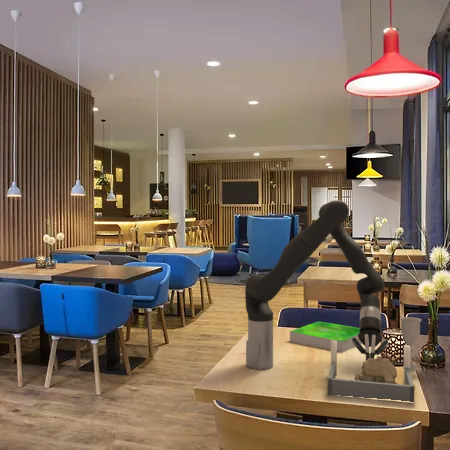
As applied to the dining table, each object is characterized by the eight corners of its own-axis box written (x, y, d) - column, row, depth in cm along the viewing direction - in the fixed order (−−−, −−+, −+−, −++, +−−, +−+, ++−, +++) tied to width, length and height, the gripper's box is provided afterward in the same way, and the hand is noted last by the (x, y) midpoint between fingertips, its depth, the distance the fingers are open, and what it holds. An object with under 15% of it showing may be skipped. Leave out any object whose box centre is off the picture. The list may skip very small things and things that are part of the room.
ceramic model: (396, 382, 166) (396, 352, 165) (404, 394, 155) (405, 362, 154) (353, 380, 167) (353, 351, 167) (358, 392, 156) (358, 361, 156)
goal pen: (415, 403, 147) (416, 363, 146) (326, 395, 154) (326, 356, 153) (409, 381, 166) (410, 345, 166) (331, 374, 173) (331, 340, 173)
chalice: (421, 367, 181) (422, 318, 180) (420, 372, 174) (421, 322, 174) (400, 364, 184) (400, 316, 183) (398, 370, 177) (399, 320, 177)
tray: (289, 342, 216) (289, 331, 216) (318, 331, 235) (318, 321, 235) (342, 353, 200) (342, 341, 200) (368, 340, 219) (368, 329, 219)
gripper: (351, 314, 182) (350, 357, 171) (389, 316, 178) (390, 360, 167) (351, 325, 187) (350, 367, 176) (388, 327, 184) (389, 371, 172)
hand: (370, 364), depth 171 cm, fingers closed
